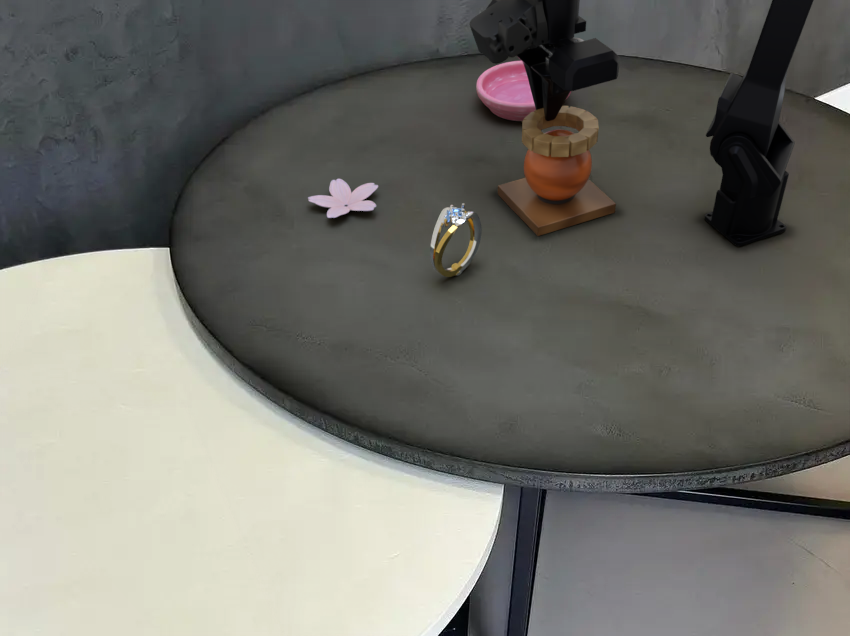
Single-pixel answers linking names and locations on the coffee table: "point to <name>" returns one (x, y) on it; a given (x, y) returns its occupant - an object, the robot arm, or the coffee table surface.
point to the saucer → (507, 91)
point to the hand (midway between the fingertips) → (545, 116)
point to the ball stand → (556, 191)
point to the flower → (345, 198)
